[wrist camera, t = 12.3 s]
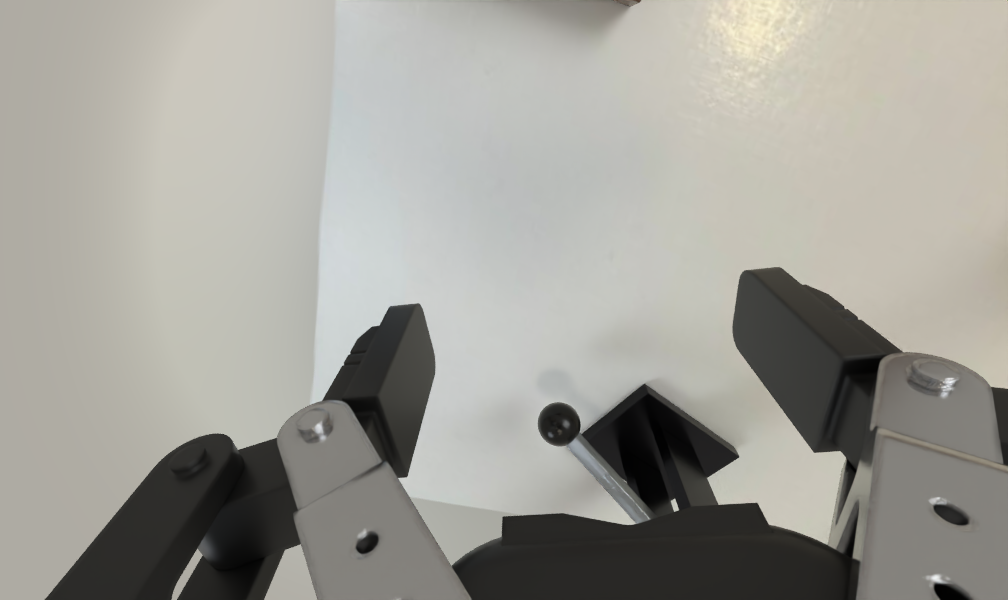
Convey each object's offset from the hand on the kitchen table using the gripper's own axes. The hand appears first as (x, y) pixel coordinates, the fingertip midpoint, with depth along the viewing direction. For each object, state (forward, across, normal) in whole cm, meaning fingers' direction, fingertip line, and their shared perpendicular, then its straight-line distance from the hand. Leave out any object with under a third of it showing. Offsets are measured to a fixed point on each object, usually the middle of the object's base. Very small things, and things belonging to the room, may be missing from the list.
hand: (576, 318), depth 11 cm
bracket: (+20, -8, +27) cm, 35 cm away
